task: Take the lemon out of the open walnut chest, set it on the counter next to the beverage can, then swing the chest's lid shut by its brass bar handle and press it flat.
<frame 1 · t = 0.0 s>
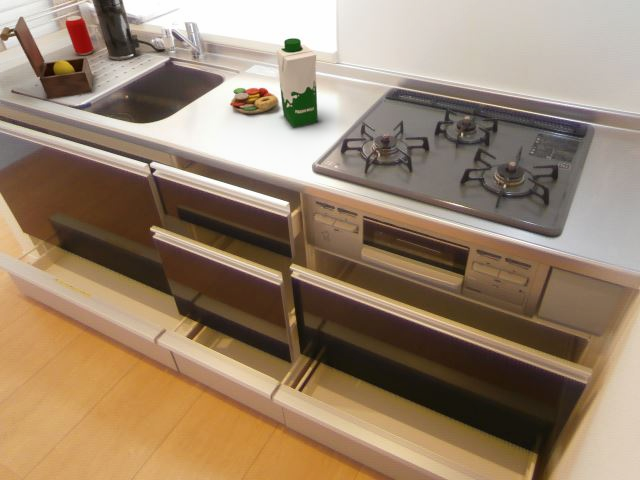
chest: (71, 87, 157), on the worktop
beverage can: (85, 53, 180), on the worktop
lemon: (71, 84, 157), point 1 cm above the worktop, touching chest
lid: (21, 48, 147), point 13 cm above the worktop, hinge at 95.0°
soya milk: (300, 120, 135), on the worktop
toy food set: (254, 106, 143), on the worktop
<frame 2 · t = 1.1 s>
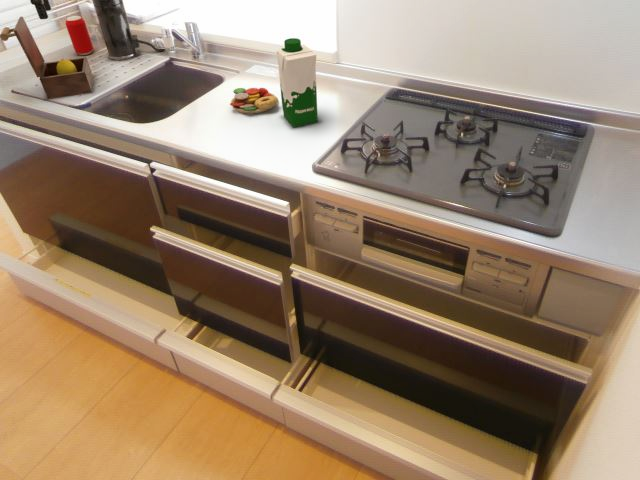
hand: (46, 14, 143), 21 cm above the worktop, tool pointing down, fingers open, 8 cm apart
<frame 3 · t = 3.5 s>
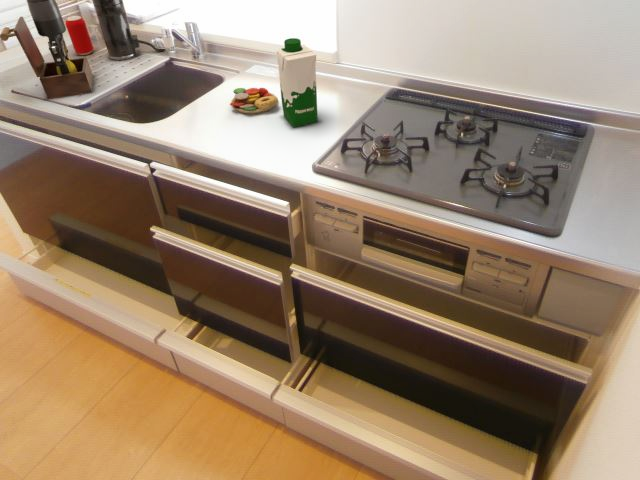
hand: (67, 73, 154), 4 cm above the worktop, tool pointing down, fingers closed on lemon, 5 cm apart
lemon: (72, 85, 157), point 1 cm above the worktop, touching chest, gripper
everything else where it was.
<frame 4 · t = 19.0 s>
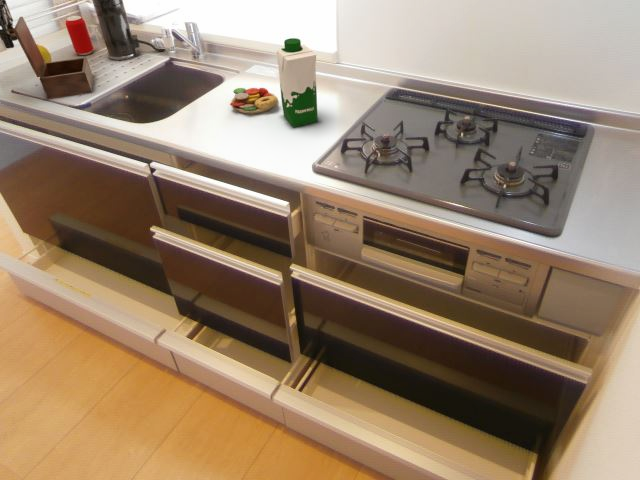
hand: (12, 43, 145), 15 cm above the worktop, tool pointing down, fingers closed on lid, 6 cm apart
lemon: (46, 69, 170), on the worktop
lid: (21, 48, 147), point 13 cm above the worktop, hinge at 95.1°, touching gripper
everything else where it was.
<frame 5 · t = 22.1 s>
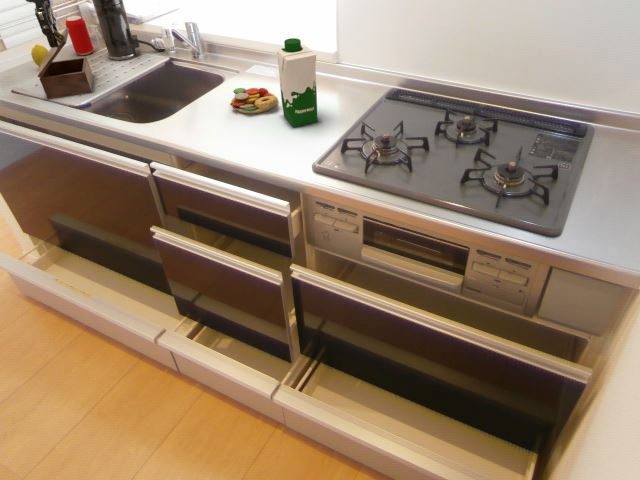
hand: (55, 43, 148), 14 cm above the worktop, tool pointing down, fingers closed on lid, 6 cm apart
lid: (45, 46, 148), point 13 cm above the worktop, hinge at 40.5°, touching gripper
everything else where it was.
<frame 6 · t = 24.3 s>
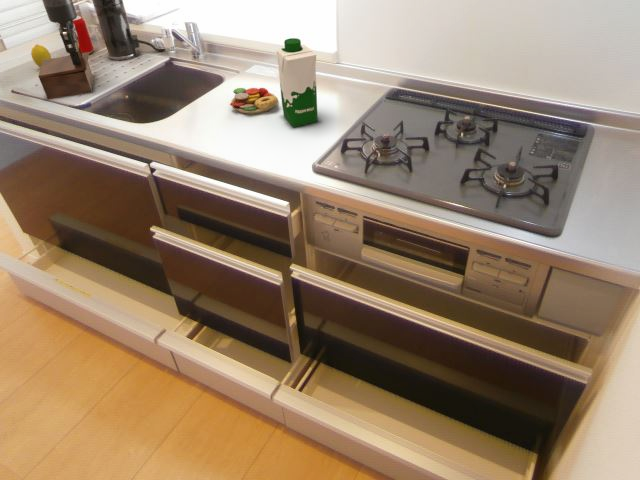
hand: (78, 60, 153), 8 cm above the worktop, tool pointing down, fingers closed on lid, 6 cm apart
lid: (61, 56, 151), point 10 cm above the worktop, hinge at 2.2°, touching gripper
everything else where it was.
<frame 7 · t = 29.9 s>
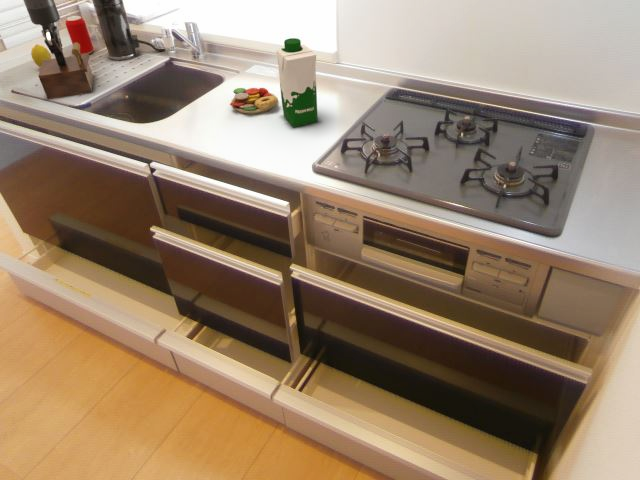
hand: (62, 64, 152), 7 cm above the worktop, tool pointing down, fingers closed
lid: (61, 57, 151), point 9 cm above the worktop, hinge at -0.2°, touching chest, gripper
everything else where it was.
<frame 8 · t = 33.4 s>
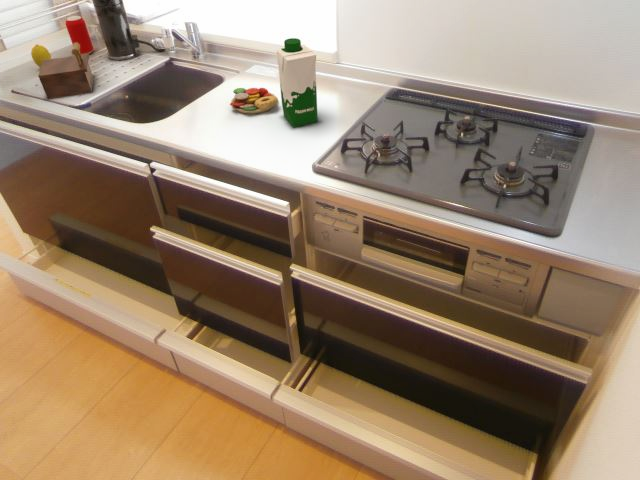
lid: (61, 57, 151), point 9 cm above the worktop, hinge at -0.2°, touching chest
everything else where it was.
at the end: lemon inside the target area (0.3 cm from its centre), on the worktop; lemon 15.9 cm from the beverage can (horizontally); lid at +0° (first picture: +95°) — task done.
